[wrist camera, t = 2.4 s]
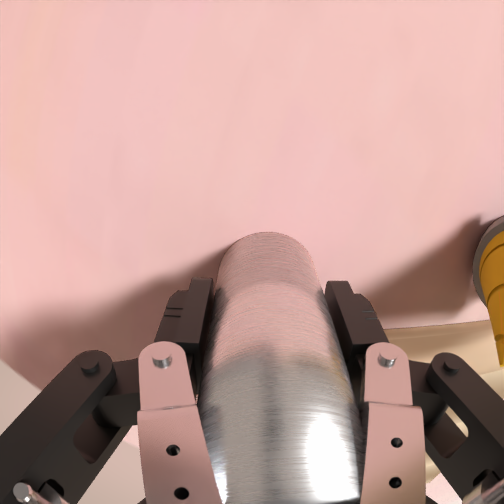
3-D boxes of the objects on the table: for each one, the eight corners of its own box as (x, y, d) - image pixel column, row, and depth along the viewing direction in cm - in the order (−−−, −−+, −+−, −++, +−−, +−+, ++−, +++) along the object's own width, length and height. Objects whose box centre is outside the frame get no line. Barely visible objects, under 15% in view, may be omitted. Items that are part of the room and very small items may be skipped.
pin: (217, 230, 13) (163, 492, 4) (319, 233, 13) (415, 478, 4) (219, 313, 14) (194, 540, 5) (308, 315, 14) (351, 534, 6)
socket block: (263, 331, 15) (266, 398, 11) (494, 319, 15) (527, 362, 11) (254, 463, 21) (254, 507, 18) (417, 445, 21) (429, 482, 18)
